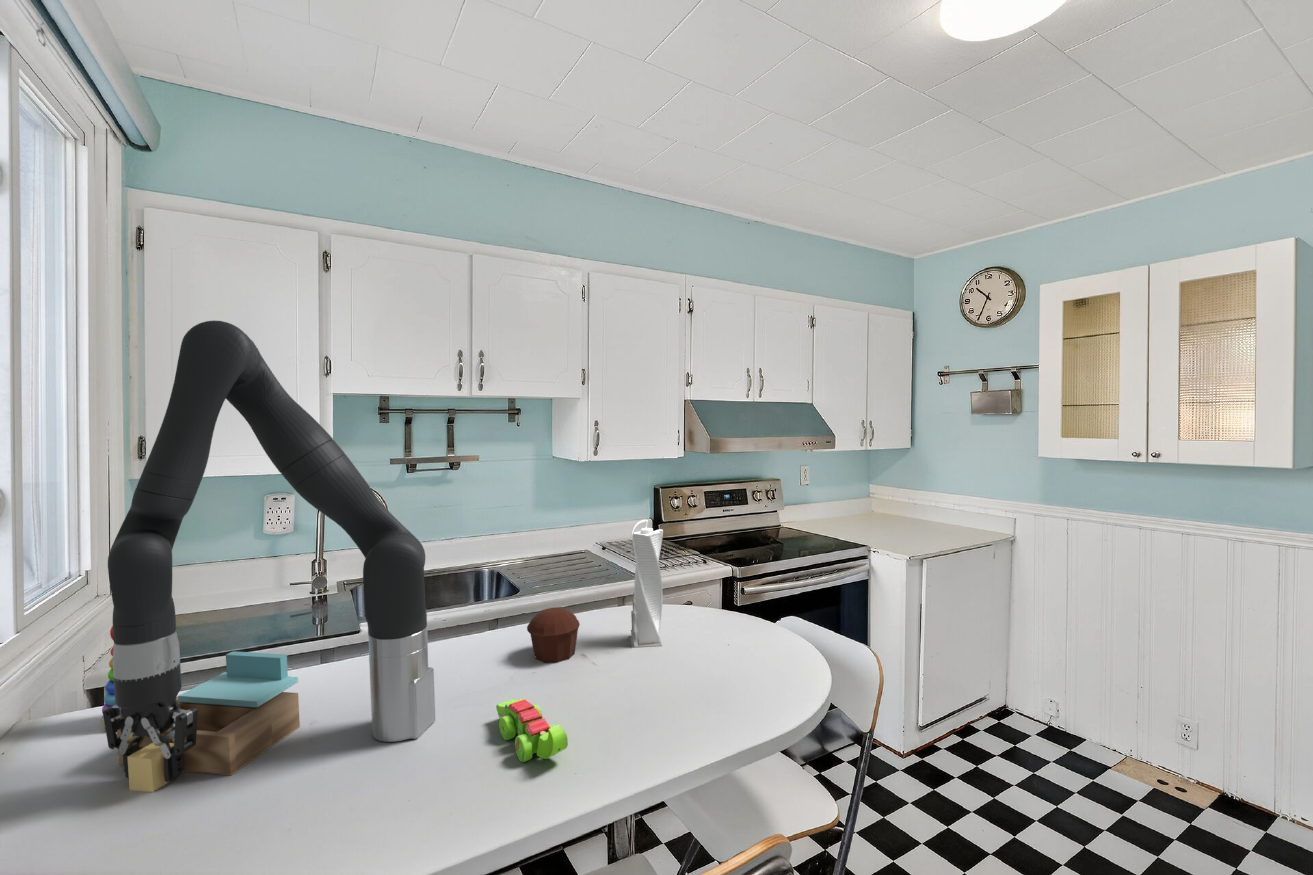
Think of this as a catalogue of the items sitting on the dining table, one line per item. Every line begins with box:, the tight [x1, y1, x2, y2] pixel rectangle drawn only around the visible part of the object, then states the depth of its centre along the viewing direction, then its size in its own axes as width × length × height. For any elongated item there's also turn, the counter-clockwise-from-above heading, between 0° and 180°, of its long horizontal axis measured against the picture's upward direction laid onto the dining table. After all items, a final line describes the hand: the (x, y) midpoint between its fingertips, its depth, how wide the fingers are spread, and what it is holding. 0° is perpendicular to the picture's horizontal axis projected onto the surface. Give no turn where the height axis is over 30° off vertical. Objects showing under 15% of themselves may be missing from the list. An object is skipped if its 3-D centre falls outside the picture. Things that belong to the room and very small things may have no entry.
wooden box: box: [116, 691, 301, 777], centre depth 100 cm, size 20×14×6 cm
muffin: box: [526, 606, 581, 664], centre depth 134 cm, size 12×11×10 cm
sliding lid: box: [177, 650, 299, 707], centre depth 105 cm, size 15×9×5 cm, turn 81°
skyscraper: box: [629, 519, 664, 649], centre depth 141 cm, size 8×8×28 cm
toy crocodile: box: [495, 697, 569, 763], centre depth 99 cm, size 20×7×6 cm, turn 34°
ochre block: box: [128, 743, 174, 793], centre depth 90 cm, size 4×4×5 cm
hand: (154, 776), depth 90 cm, fingers open, 6 cm apart
